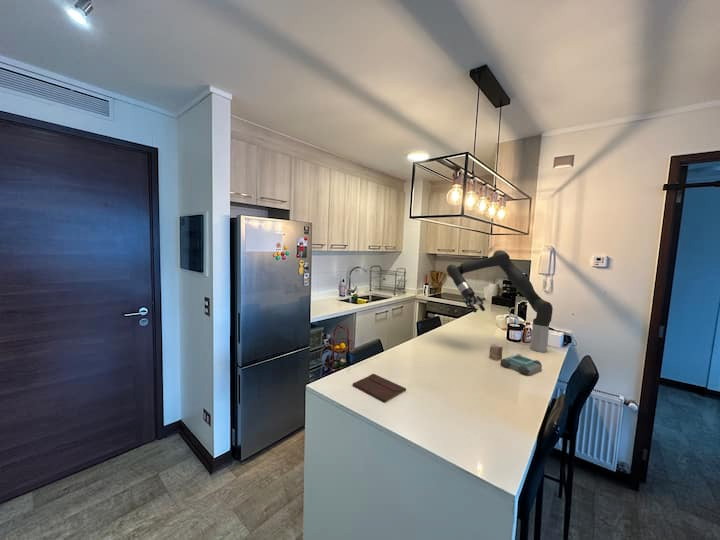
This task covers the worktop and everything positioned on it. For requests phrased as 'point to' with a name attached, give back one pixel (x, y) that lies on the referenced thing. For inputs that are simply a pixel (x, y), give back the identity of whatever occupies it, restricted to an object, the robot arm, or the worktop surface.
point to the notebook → (379, 387)
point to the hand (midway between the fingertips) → (480, 311)
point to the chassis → (522, 364)
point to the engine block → (495, 352)
